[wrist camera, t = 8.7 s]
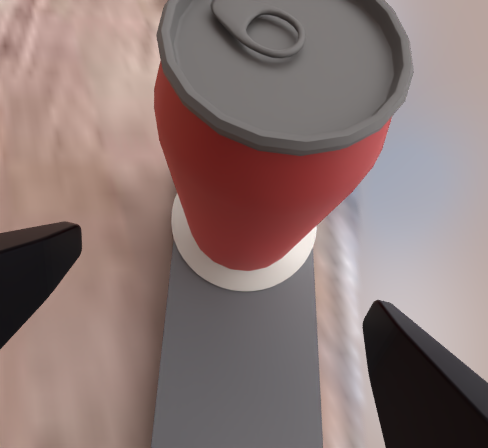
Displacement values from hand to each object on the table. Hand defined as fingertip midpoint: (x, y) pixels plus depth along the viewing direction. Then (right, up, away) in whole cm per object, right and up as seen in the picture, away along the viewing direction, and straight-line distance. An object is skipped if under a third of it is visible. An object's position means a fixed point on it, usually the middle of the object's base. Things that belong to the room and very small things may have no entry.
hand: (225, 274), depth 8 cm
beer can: (0, +2, +9) cm, 9 cm away
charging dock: (0, -3, +9) cm, 9 cm away
